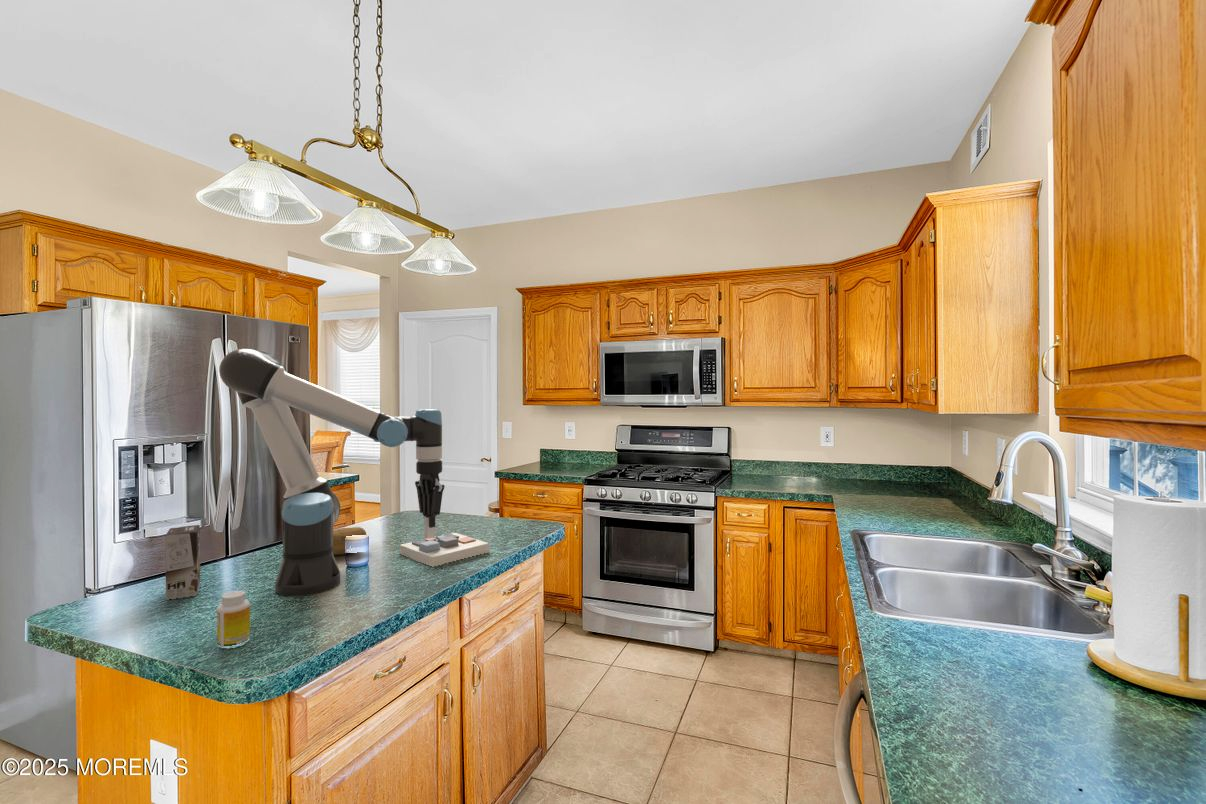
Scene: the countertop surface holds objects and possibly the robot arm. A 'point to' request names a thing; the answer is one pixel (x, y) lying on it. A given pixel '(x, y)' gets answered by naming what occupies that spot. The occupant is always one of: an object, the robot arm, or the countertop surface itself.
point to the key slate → (429, 546)
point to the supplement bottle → (233, 619)
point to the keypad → (444, 550)
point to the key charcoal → (448, 542)
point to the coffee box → (182, 562)
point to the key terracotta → (466, 540)
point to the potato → (340, 537)
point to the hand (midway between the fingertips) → (429, 537)
